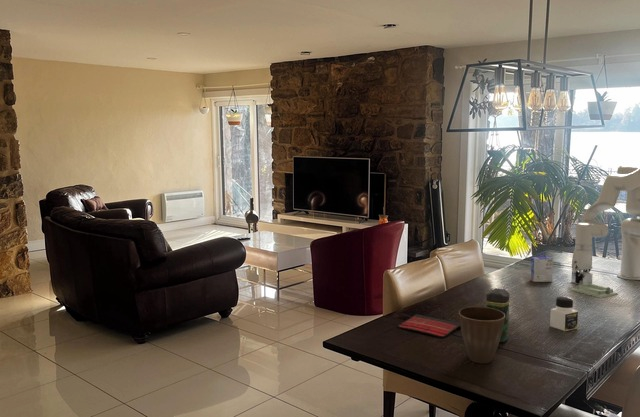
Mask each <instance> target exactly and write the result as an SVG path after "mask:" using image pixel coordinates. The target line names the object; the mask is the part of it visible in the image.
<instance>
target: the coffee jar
mask: <svg viewBox="0 0 640 417" xmlns="http://www.w3.org/2000/svg"><path fill="white" fill-rule="evenodd" d="M485 307H487V308H493V309H497V310H499V311H502V312H503V313H504V314H505V321H504V326H503V331H502V335H501V338H500V341H499V343H505V342H506V341H507V340H508V337H509V320H510V319H509V318H510V317H509V316H510V293H509V291H507V289H505V288H504V289H503V288H493V289H491V290H489V291H488V292H487V293H486V297H485Z"/></svg>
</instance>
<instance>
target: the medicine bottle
mask: <svg viewBox="0 0 640 417" xmlns="http://www.w3.org/2000/svg"><path fill="white" fill-rule="evenodd" d="M549 317H550V319H549V321H550V322H549V327H551V328H554V329H557V330H559V331H563V332H568V331H572V330H577V329H578V320H579V319H578V318H579V311H578V310H577V309H574V299H573V298H571V297H569V296H564V295H563V296H557V298H555V307H554V308H551V309H550V316H549Z"/></svg>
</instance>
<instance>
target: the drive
mask: <svg viewBox="0 0 640 417" xmlns="http://www.w3.org/2000/svg"><path fill="white" fill-rule="evenodd" d="M578 272H579V271H578ZM593 274H594V273H592V272H589V273H588V272H584V271H583V270H582V272H581V276H582V281H583V284H587V283H590V284H593ZM575 278H576V275H575V273H574V272H573V271H572V270H571V278H570V279H571V283H572V284H573V283H574V284H576V285H580V284H579V283H576V282H575Z"/></svg>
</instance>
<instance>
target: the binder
mask: <svg viewBox="0 0 640 417" xmlns="http://www.w3.org/2000/svg"><path fill="white" fill-rule="evenodd" d="M397 328H398V329H400V328H402V329H401V330H405V329H406V331H410V330H411V332H416V333H420V334H424V335H430V336H432V337H435V338H438V339H444V338H448V337H450V336H451V335H452V334H455V333H456V332H458V331H459V330H458V329H459V328H460V329H461V326H460V322H454V321H450V320H447V319H439V318H435V317H432V316H431V317H430V316H425V315H421V314H418V313H416V314H414V315H412V316H411V317H408V319H406V320H404V321H402V322H401V323H399V324H398V325H397Z"/></svg>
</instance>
